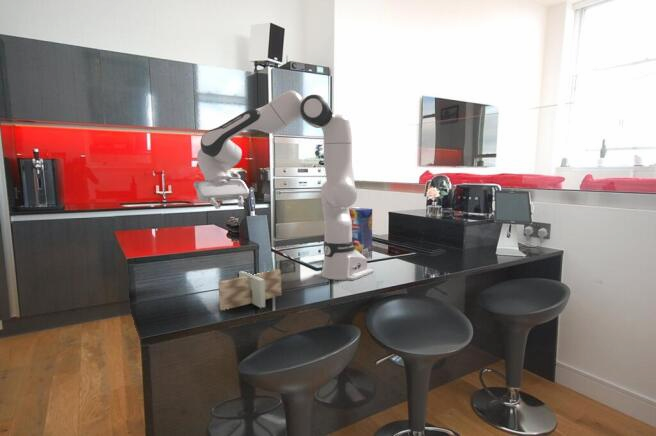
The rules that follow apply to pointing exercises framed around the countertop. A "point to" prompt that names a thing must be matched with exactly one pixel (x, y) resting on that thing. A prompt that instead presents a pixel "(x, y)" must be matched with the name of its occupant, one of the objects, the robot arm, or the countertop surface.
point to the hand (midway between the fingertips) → (230, 206)
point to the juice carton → (362, 230)
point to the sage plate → (255, 288)
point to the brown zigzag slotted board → (247, 289)
